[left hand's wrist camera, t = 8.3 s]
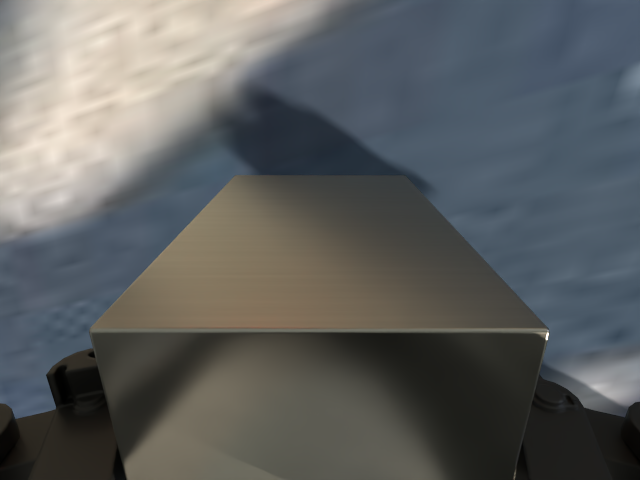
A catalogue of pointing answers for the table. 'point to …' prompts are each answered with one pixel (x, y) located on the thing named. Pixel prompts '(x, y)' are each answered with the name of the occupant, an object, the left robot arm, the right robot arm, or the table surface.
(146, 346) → the bar
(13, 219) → the table surface
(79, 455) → the left robot arm
